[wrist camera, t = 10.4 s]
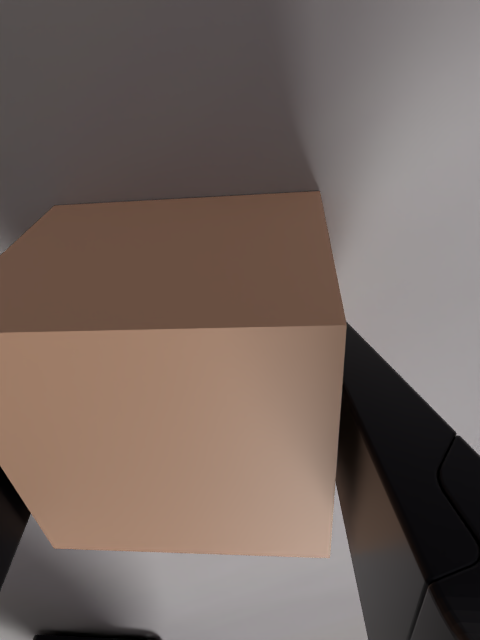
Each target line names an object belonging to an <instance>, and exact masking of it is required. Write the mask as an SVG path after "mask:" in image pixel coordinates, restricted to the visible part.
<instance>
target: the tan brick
mask: <svg viewBox="0 0 480 640" xmlns="http://www.w3.org/2000/svg"><path fill="white" fill-rule="evenodd" d="M346 328H347V324H346V319H345V314H344V309H343V304H342V299H341V294H340V289H339V284H338V279H337V274H336V269H335V264H334V259H333V254H332V249H331V244H330V239H329V234H328V229H327V224H326V219H325V214H324V209H323V204H322V199H321V194H320V191H310V192H292V193H274V194H255V195H237V196H219V197H201V198H182V199H164V200H146V201H127V202H109V203H91V204H72V205H54V206H53V207H52V208H51V209H50V210H49V211H48V212H47V213H46V214H45V215H44V216H42V217H41V218H40V219H39V220H38V221H37V222H36V223H35V224H34V225H33V226H32V227H31V228H29V229H28V230H27V231H26V232H25V233H24V234H23V235H22V236H21V237H20V238H19V239H18V240H17V241H15V242H14V243H13V244H12V245H11V246H10V247H9V248H8V249H7V250H6V251H5V252H4V253H2V254H1V255H0V466H1V468H2V469H3V471H4V472H5V474H6V475H7V477H8V479H9V480H10V482H11V483H12V485H13V486H14V488H15V489H16V491H17V492H18V494H19V495H20V497H21V499H22V500H23V502H24V503H25V505H26V506H27V508H28V509H29V511H30V512H31V514H32V515H33V517H34V518H35V520H36V522H37V523H38V525H39V526H40V528H41V529H42V531H43V532H44V534H45V535H46V537H47V538H48V540H49V542H50V543H51V545H52V546H53V548H54V549H82V550H111V551H140V552H168V553H197V554H226V555H254V556H283V557H312V558H330V549H331V535H332V521H333V508H334V494H335V480H336V466H337V452H338V438H339V425H340V411H341V397H342V383H343V369H344V355H345V341H346Z"/></svg>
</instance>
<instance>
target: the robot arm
mask: <svg viewBox="0 0 480 640" xmlns="http://www.w3.org/2000/svg"><path fill="white" fill-rule="evenodd" d="M346 324H347V328H346V341H345V355H344V369H343V383H342V397H341V411H340V425H339V438H338V452H337V466H336V480H335V481H336V486H337V491H338V495H339V500H340V505H341V510H342V515H343V520H344V524H345V529H346V534H347V539H348V544H349V549H350V553H351V558H352V563H353V568H354V573H355V578H356V582H357V587H358V592H359V597H360V602H361V607H362V612H363V616H364V621H365V626H366V631H367V636H368V640H480V455H478V454H477V453H476V452H475V451H474V450H473V449H472V448H471V447H470V446H469V445H468V444H467V443H466V442H465V441H464V439H463V438H462V437H460V436H456V432H455V431H454V430H453V429H452V428H451V427H450V426H449V425H448V424H447V423H446V422H445V421H444V420H443V419H442V418H441V417H440V416H439V415H438V414H437V413H436V412H435V411H434V410H433V409H432V407H431V406H430V405H429V404H428V403H427V402H426V401H425V400H424V399H423V398H422V397H421V396H420V395H419V394H418V393H417V392H416V391H415V390H414V389H413V388H412V387H411V386H410V385H409V384H408V383H407V382H406V381H405V380H404V379H403V378H402V377H401V376H400V375H399V374H398V373H397V372H396V371H395V370H394V369H393V368H392V367H391V366H390V365H389V364H388V363H387V362H386V361H385V360H384V359H383V358H382V357H381V356H380V355H379V354H378V353H377V352H376V351H375V350H374V349H373V348H372V347H371V346H370V345H369V344H368V343H367V342H366V341H365V340H364V339H363V338H362V337H361V336H360V335H359V334H358V333H357V332H356V331H355V330H354V329H353V328H352V327H351V326H350V325H349V324H348V323H347V322H346ZM30 514H31V512H30V511H29V509H28V508H27V506H26V505H25V503H24V502H23V500H22V499H21V497H20V495H19V494H18V492H17V491H16V489H15V488H14V486H13V485H12V483H11V482H10V480H9V479H8V477H7V475H6V474H5V472H4V471H3V469H2V468H1V466H0V590H1V588H2V585H3V583H4V580H5V578H6V575H7V573H8V570H9V568H10V565H11V562H12V560H13V557H14V555H15V552H16V550H17V547H18V545H19V542H20V540H21V537H22V535H23V532H24V529H25V527H26V524H27V522H28V519H29V517H30ZM33 640H130V639H111V638H92V637H73V636H55V635H35V636H34V638H33Z"/></svg>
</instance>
